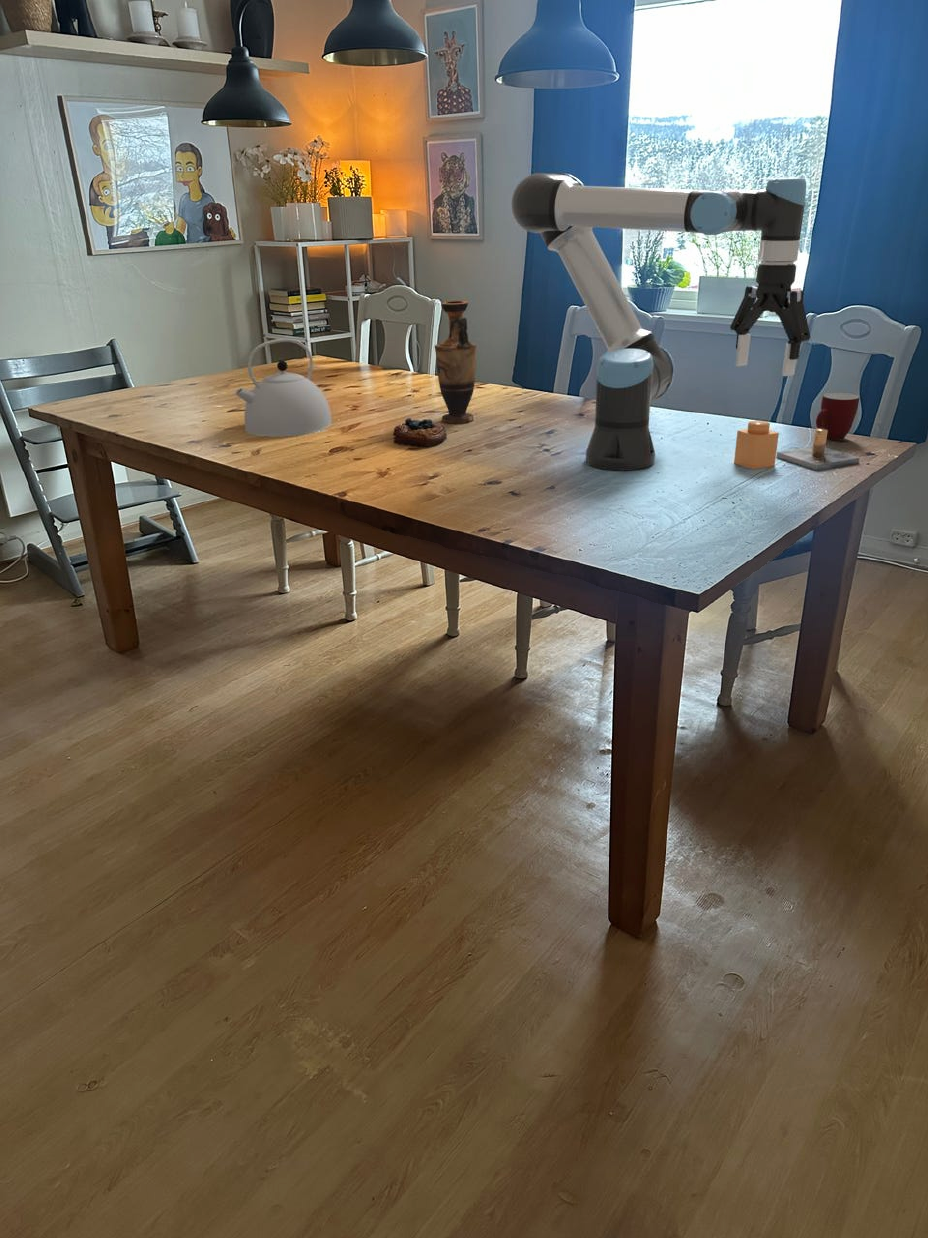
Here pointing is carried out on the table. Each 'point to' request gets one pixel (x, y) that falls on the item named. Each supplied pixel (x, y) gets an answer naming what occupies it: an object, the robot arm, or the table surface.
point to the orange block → (756, 446)
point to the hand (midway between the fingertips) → (763, 370)
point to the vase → (456, 365)
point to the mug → (837, 414)
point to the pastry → (419, 433)
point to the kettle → (284, 402)
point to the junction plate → (824, 460)
